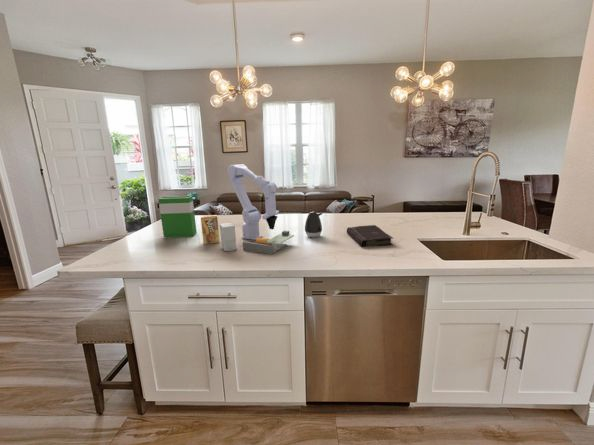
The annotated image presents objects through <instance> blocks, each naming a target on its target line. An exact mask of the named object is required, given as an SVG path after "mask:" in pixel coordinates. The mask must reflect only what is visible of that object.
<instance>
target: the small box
mask: <svg viewBox="0 0 594 445" xmlns="http://www.w3.org/2000/svg"><path fill="white" fill-rule="evenodd" d="M219 232H220V233H219V234H220V240H221V242H220V243H221V248H222V250H223V251H224V252H229V251H235V250H237V239H236V238H237V237H236V226H235V225H234V224H233V223H232V222H227V223H226V222H225V223H224V222H223V223H219Z"/></svg>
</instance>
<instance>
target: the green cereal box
mask: <svg viewBox="0 0 594 445" xmlns="http://www.w3.org/2000/svg"><path fill="white" fill-rule="evenodd" d="M157 201H158V206H159V212H160V213H159V214H160V220H161V221H160V222H161V227H162V235H163V238H164V237H172V238H188V237H189V238H193V237H195V236H196V235H197V233H198V232H197V223H196V222H197V221H196V217H195V216H196V215H195V207H194V198H193V195H179V196H178V195H177V196H175V195H174V196H171V195H170V196H162V198H158V200H157Z"/></svg>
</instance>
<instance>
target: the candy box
mask: <svg viewBox="0 0 594 445" xmlns="http://www.w3.org/2000/svg"><path fill="white" fill-rule="evenodd" d="M200 224H201V233H202V242H203V245H209V244H215V243H221V242H220V240H221V239H220V233H219V232H220V228H219V220H218V216H217V214H213V215H203V216H200Z"/></svg>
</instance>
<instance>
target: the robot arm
mask: <svg viewBox="0 0 594 445" xmlns="http://www.w3.org/2000/svg"><path fill="white" fill-rule="evenodd" d="M226 173H227V176H228V177H229V180H230V184H231V185H232V188H233V189H234V190H233V191H234V192H235V195H236V196H237V198H238V201H239V202H240V204H241V207H242V212H241V215H242V218H243V219H242V220H243V221H244V222H243V224H242V228H241V229H242V238H243V239H248V240H253V241H254V240H255V241H256V238H257V237H258V238H263V235H262V234H260V220H261V218H262V220H265V221H266V222H267V225H268V229H269V230H274V229H275V226H276V221H277V218H278V216H277V215H279V214H280V210H277V206H276V205H277V202H276V193H277V192H278V186H277V184H276V183H275V182H270V180H267V179H265V178H264V176H263V175H256V174H255V173H254V172H253V171H252V170H250V169H249V168H248V166H247V165H245V164H243V163H240V164H230V165H228V166H227V170H226ZM244 177H246V178H247V179H249V180H251V181H252V182H253V184H254V185H255V186H256V187H257V188H259V189H260V190H262V193H263V195H264V203H265V204H264V205H265V213H264V214H263V215H262V214H261V212H260V211H259V210H258V208H257V207H256V206H254V205H253V204H252V202H251V200H250V198H249V196H248V193H247V192H246V190H245V187H244V186H243V183H242V180H243V179H244Z"/></svg>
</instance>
